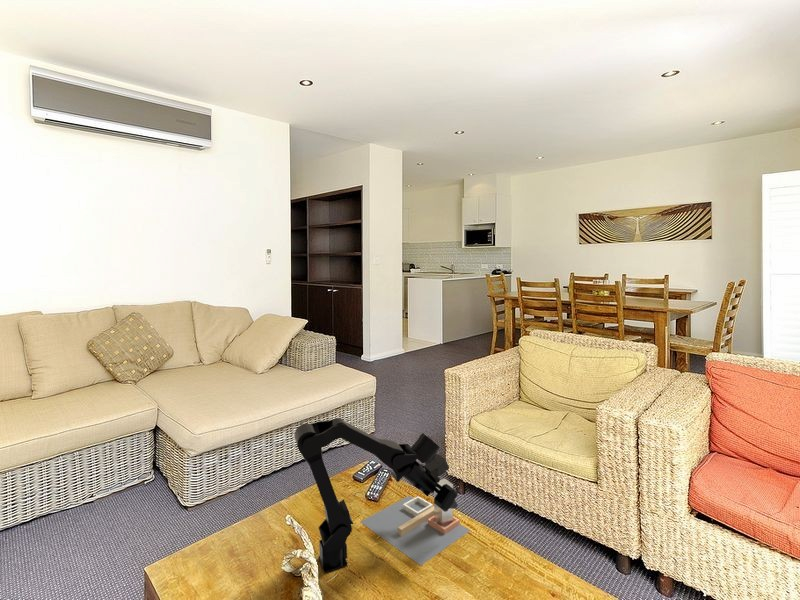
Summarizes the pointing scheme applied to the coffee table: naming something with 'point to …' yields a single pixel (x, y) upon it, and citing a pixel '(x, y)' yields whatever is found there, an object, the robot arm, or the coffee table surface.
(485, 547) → the coffee table surface
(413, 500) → the socket
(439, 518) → the block
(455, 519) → the socket
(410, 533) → the door board
